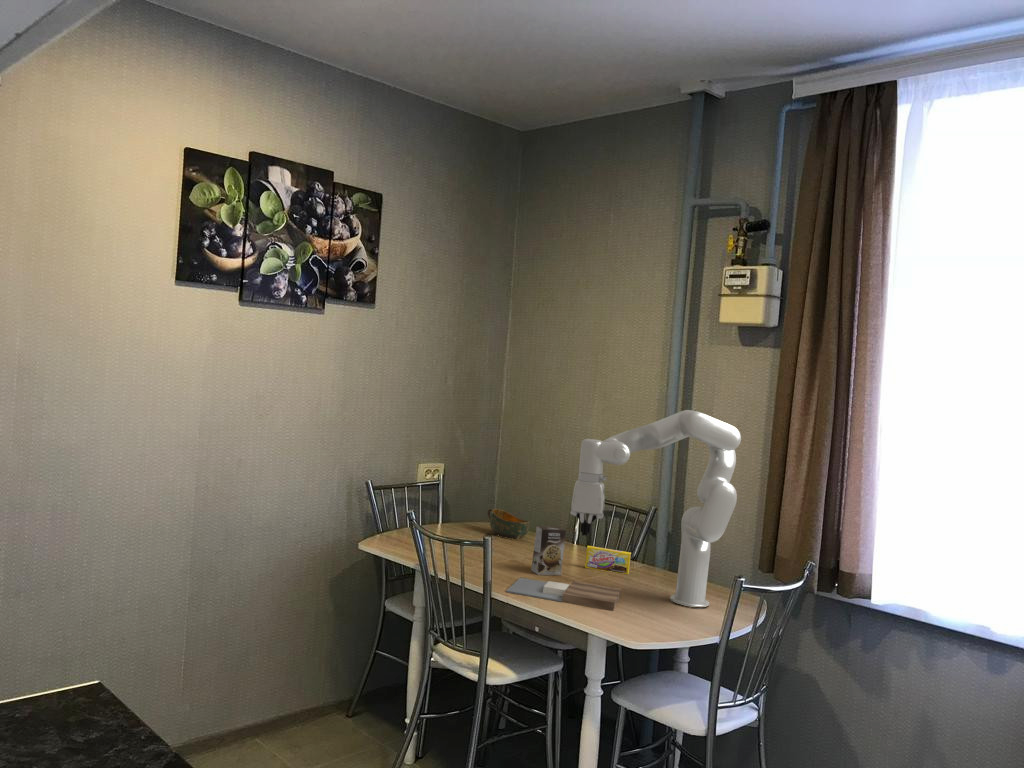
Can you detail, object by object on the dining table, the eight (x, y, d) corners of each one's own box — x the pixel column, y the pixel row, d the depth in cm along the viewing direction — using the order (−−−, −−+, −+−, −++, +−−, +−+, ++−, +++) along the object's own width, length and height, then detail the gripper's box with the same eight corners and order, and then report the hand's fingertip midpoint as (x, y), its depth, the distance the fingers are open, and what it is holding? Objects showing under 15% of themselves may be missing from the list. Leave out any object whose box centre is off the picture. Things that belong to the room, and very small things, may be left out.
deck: (572, 588, 276) (573, 580, 276) (620, 596, 272) (621, 589, 272) (562, 601, 259) (563, 593, 259) (613, 610, 255) (614, 602, 255)
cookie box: (538, 575, 289) (543, 529, 289) (530, 570, 295) (535, 525, 295) (561, 575, 293) (566, 530, 292) (554, 570, 299) (559, 526, 298)
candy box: (584, 568, 308) (586, 546, 307) (585, 567, 310) (587, 545, 309) (628, 575, 304) (630, 553, 304) (628, 574, 306) (631, 552, 306)
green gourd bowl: (510, 530, 363) (513, 507, 363) (530, 542, 345) (533, 517, 344) (483, 530, 358) (486, 507, 357) (502, 542, 339) (504, 517, 339)
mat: (520, 579, 281) (520, 577, 281) (572, 588, 277) (572, 586, 277) (506, 592, 263) (506, 590, 263) (561, 602, 258) (562, 600, 258)
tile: (548, 586, 273) (548, 580, 273) (569, 590, 271) (569, 584, 271) (542, 592, 265) (543, 586, 265) (564, 596, 263) (565, 590, 263)
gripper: (614, 479, 269) (609, 535, 269) (569, 474, 272) (564, 529, 273) (611, 482, 261) (606, 540, 262) (565, 476, 265) (560, 533, 265)
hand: (585, 534), depth 267 cm, fingers closed
